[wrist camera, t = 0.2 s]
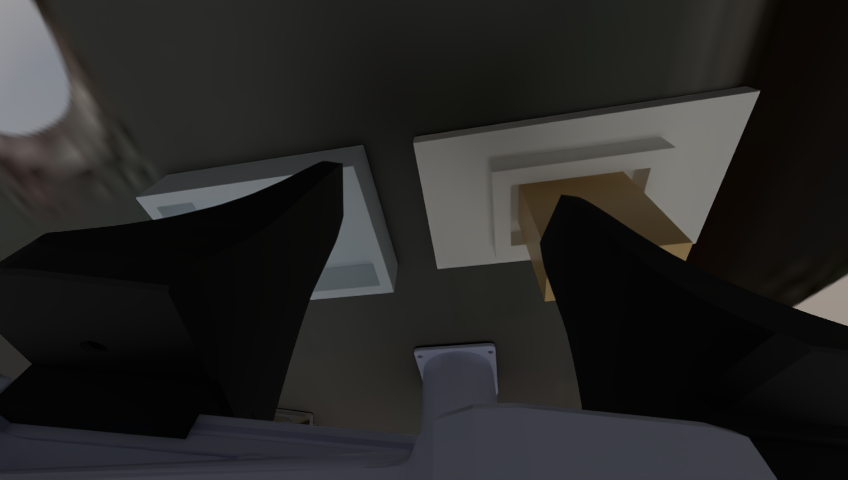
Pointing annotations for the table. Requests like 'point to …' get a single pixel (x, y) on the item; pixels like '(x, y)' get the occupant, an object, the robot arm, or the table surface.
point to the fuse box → (576, 167)
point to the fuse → (609, 195)
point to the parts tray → (363, 217)
